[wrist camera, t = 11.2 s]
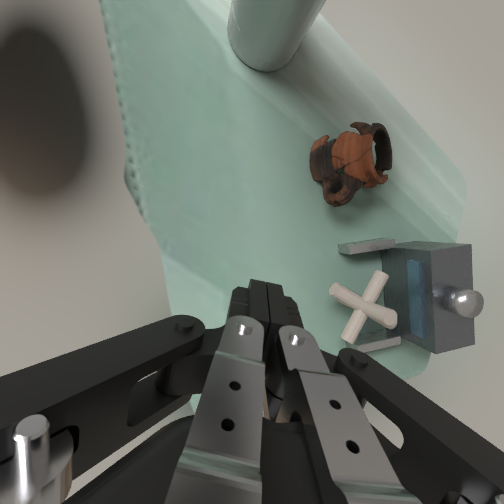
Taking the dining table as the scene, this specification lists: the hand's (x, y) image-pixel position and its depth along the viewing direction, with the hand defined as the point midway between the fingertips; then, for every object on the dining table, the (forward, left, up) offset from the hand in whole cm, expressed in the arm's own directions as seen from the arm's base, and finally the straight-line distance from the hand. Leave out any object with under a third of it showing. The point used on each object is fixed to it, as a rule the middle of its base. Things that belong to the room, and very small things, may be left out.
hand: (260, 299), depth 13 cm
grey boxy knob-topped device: (+9, +24, -24) cm, 35 cm away
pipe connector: (+9, +18, -24) cm, 32 cm away
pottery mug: (-9, +19, -25) cm, 32 cm away
